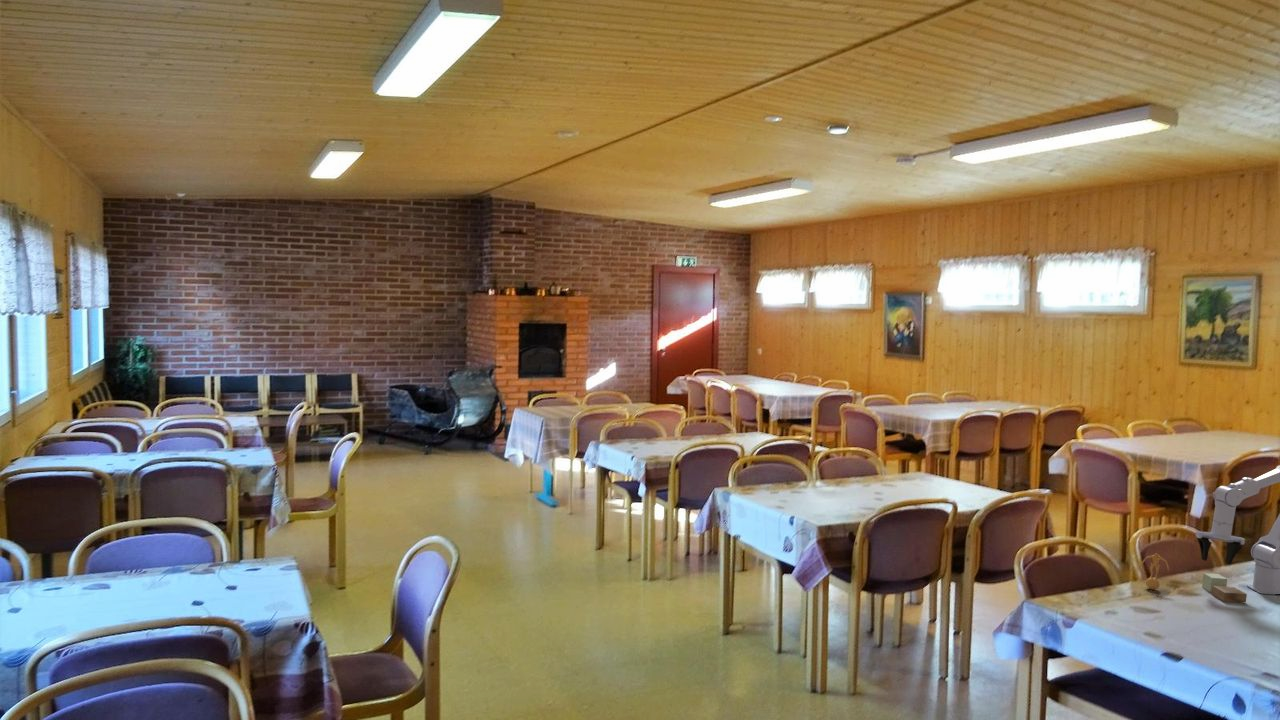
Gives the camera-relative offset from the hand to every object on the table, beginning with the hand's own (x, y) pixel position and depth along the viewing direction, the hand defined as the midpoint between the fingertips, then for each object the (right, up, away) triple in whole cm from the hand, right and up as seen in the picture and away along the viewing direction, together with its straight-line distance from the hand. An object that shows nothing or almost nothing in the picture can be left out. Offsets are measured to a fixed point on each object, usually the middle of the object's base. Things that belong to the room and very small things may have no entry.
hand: (1216, 561), depth 308 cm
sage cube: (0, -10, +1) cm, 10 cm away
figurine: (-22, -9, -1) cm, 24 cm away
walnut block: (-1, -10, -8) cm, 13 cm away
